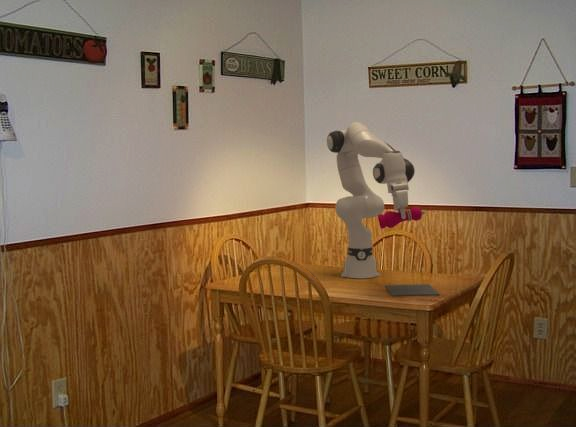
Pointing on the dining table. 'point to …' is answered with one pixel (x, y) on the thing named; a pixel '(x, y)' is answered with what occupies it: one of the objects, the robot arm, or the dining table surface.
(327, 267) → the dining table surface
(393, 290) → the mat
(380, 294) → the dining table surface
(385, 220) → the pepper mill
